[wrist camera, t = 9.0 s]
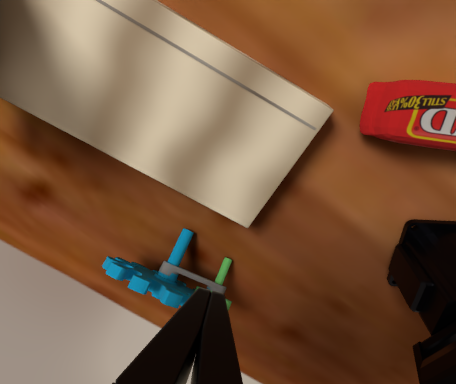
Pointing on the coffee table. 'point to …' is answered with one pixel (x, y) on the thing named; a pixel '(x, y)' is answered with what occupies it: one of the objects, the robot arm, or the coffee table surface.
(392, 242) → the coffee table surface
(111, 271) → the gear
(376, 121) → the candy bar
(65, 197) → the coffee table surface
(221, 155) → the pine board
